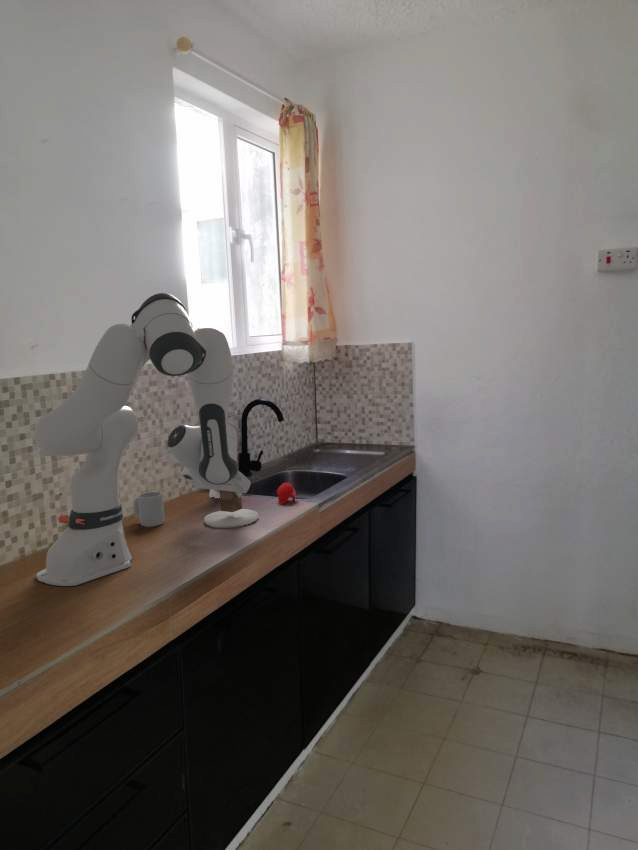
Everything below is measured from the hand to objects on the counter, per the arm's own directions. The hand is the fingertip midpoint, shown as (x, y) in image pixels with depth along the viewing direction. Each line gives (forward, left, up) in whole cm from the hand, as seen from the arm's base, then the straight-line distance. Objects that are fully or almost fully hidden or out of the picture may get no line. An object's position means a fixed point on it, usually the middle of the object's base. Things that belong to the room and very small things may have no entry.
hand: (231, 494), depth 187 cm
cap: (+23, -4, -8) cm, 25 cm away
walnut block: (-1, 0, -5) cm, 5 cm away
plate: (-1, 0, -8) cm, 8 cm away
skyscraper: (+21, +22, -8) cm, 32 cm away
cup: (-13, +22, -8) cm, 27 cm away
